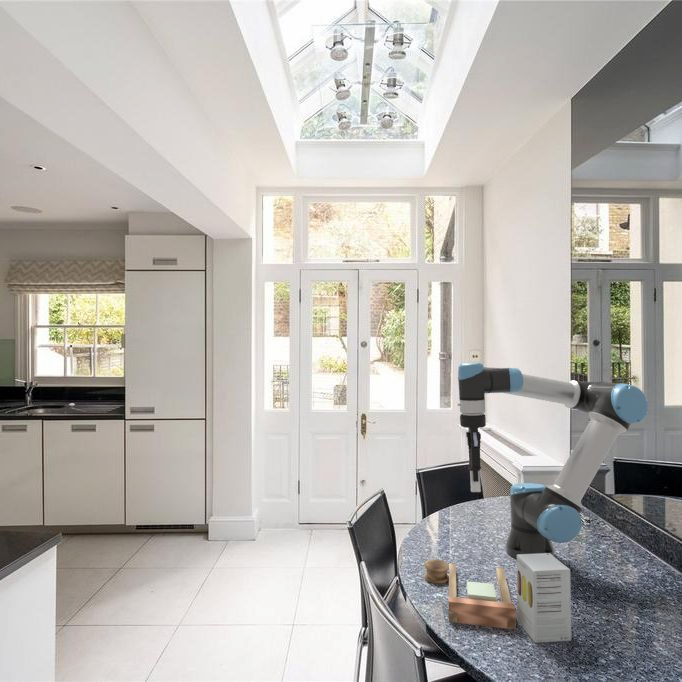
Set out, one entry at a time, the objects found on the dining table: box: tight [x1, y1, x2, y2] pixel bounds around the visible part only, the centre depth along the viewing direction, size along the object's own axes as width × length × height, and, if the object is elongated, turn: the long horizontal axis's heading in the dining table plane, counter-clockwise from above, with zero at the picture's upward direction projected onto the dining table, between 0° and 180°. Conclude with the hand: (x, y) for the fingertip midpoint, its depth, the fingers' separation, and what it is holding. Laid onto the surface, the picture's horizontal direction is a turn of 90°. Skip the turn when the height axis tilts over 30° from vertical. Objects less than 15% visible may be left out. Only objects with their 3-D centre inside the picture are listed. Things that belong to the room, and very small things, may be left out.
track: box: [448, 563, 517, 630], centre depth 130 cm, size 16×28×5 cm, turn 167°
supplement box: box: [516, 553, 572, 644], centre depth 115 cm, size 10×9×17 cm
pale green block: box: [466, 580, 497, 602], centre depth 123 cm, size 7×7×6 cm
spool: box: [423, 558, 449, 585], centre depth 142 cm, size 7×7×4 cm
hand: (475, 491), depth 143 cm, fingers closed
